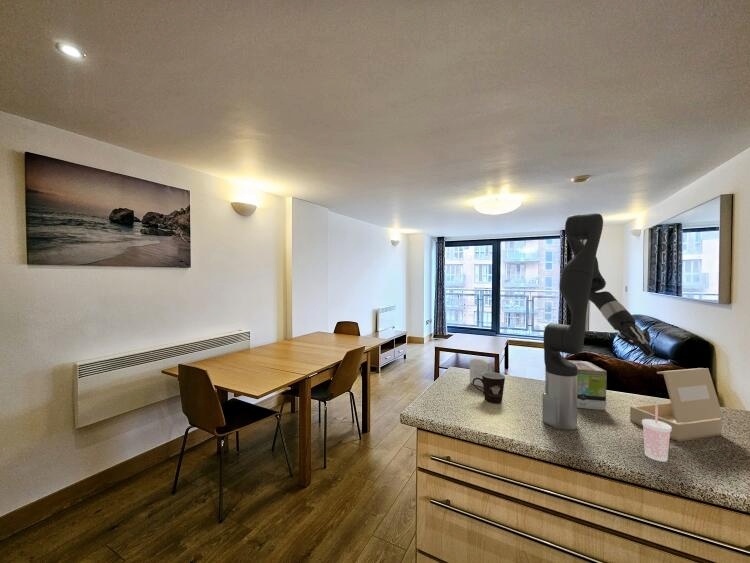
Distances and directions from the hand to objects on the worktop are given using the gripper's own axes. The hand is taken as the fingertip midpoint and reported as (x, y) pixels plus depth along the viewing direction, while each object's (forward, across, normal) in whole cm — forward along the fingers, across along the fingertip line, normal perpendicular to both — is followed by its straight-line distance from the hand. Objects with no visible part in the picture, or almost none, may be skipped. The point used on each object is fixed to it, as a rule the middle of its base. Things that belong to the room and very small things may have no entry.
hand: (651, 354), depth 109 cm
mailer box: (+21, 0, +11) cm, 23 cm away
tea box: (+4, -10, +28) cm, 30 cm away
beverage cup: (+29, -24, +3) cm, 38 cm away
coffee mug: (-4, -45, +35) cm, 57 cm away
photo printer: (-15, -39, +47) cm, 63 cm away
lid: (+14, 0, 0) cm, 14 cm away
